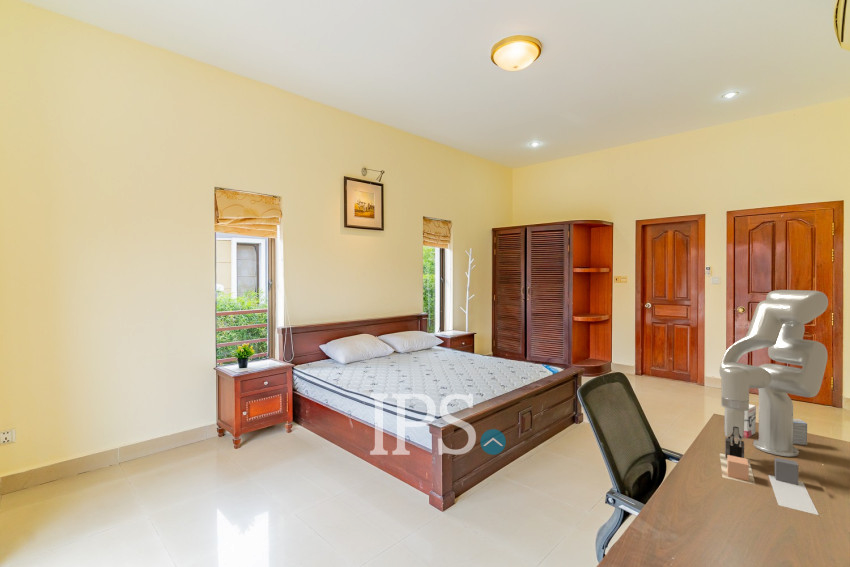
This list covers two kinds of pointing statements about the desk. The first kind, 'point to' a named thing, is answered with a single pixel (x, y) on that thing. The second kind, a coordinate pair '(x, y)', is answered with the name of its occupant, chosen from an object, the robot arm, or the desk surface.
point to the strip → (790, 487)
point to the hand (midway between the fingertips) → (734, 452)
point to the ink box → (750, 421)
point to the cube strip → (724, 463)
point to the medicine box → (799, 432)
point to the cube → (737, 467)
